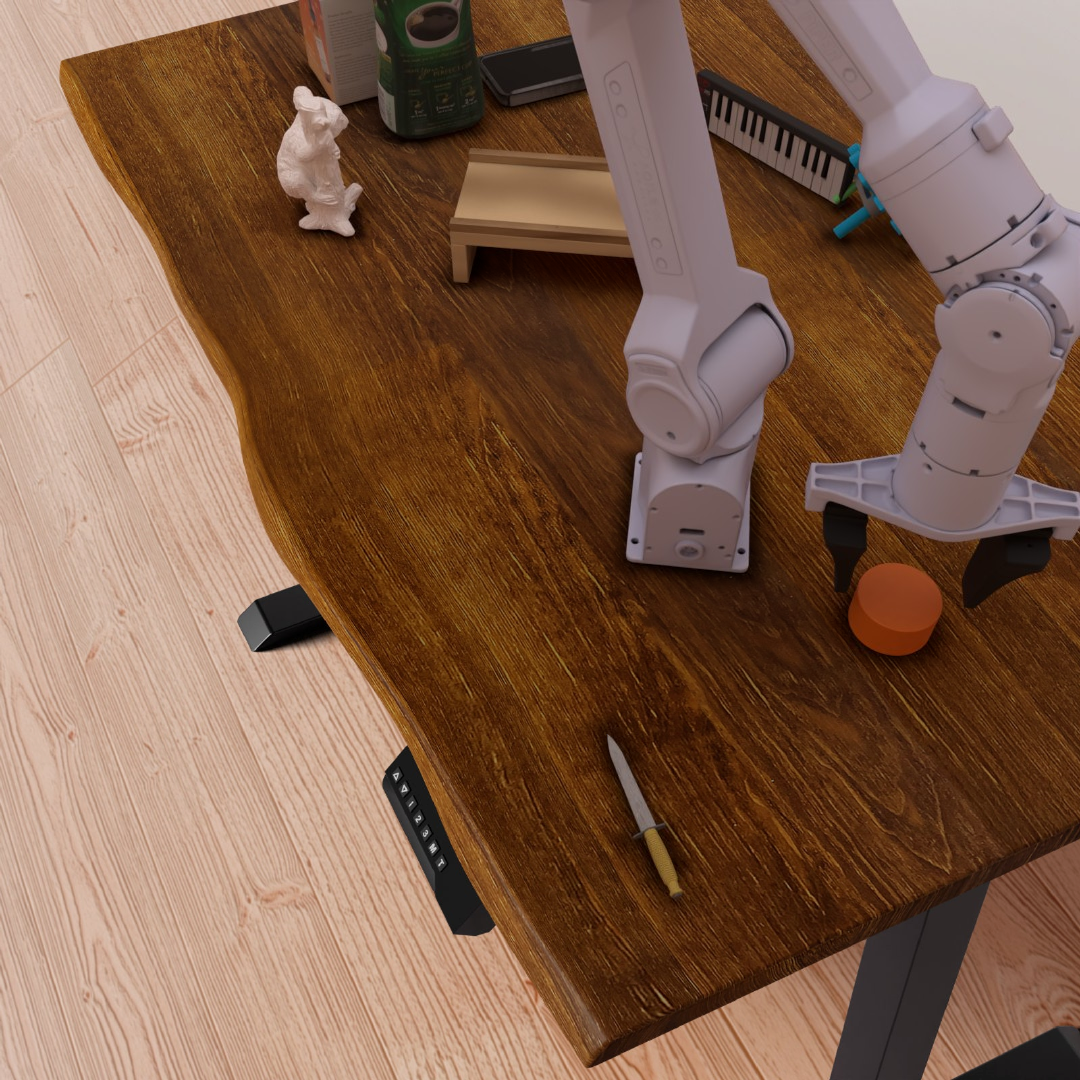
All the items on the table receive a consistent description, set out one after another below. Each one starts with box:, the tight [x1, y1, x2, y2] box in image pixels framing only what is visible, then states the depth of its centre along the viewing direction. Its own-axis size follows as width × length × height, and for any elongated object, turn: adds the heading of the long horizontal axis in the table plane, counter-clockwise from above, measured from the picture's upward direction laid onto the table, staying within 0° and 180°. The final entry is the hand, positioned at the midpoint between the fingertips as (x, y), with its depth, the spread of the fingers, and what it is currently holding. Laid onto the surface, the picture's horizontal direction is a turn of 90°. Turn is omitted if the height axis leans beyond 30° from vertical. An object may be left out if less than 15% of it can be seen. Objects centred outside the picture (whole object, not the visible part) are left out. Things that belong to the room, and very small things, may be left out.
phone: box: [478, 33, 587, 107], centre depth 112 cm, size 8×1×15 cm
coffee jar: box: [373, 0, 486, 140], centre depth 101 cm, size 10×8×19 cm
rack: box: [448, 147, 634, 284], centre depth 94 cm, size 10×18×6 cm, turn 83°
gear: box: [832, 142, 902, 240], centre depth 96 cm, size 11×6×10 cm
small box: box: [297, 0, 378, 107], centre depth 108 cm, size 8×6×10 cm
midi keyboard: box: [696, 67, 857, 209], centre depth 102 cm, size 18×1×5 cm, turn 42°
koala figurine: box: [276, 85, 364, 237], centre depth 94 cm, size 8×7×12 cm
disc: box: [847, 562, 944, 657], centre depth 73 cm, size 5×5×3 cm
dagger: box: [607, 734, 684, 900], centre depth 65 cm, size 11×1×2 cm
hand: (903, 587), depth 71 cm, fingers open, 7 cm apart
